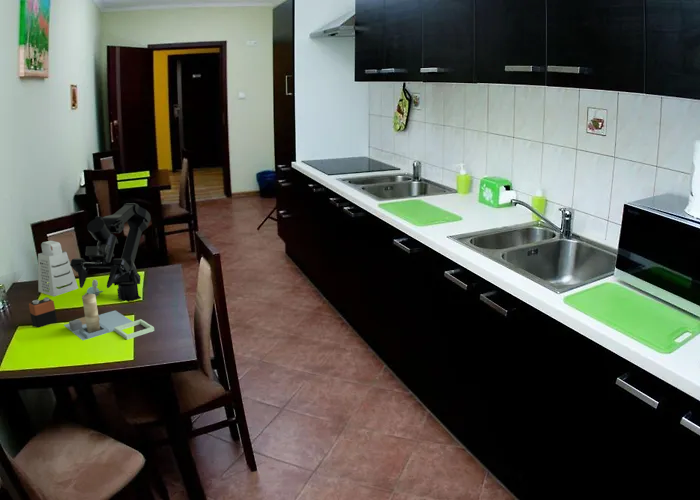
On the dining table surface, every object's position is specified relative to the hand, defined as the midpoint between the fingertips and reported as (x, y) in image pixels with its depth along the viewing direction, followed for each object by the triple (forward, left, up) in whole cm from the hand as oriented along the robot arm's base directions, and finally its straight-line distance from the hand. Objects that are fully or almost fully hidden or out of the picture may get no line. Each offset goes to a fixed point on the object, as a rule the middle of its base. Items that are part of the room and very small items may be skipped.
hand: (94, 287), depth 198 cm
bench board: (0, +1, -14) cm, 14 cm away
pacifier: (-10, -32, -15) cm, 36 cm away
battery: (+13, -14, -15) cm, 24 cm away
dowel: (+4, +6, -13) cm, 15 cm away
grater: (-3, -48, -15) cm, 50 cm away
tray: (-6, +15, -14) cm, 21 cm away
